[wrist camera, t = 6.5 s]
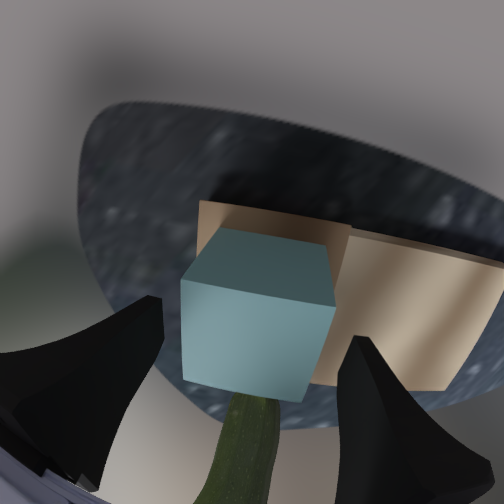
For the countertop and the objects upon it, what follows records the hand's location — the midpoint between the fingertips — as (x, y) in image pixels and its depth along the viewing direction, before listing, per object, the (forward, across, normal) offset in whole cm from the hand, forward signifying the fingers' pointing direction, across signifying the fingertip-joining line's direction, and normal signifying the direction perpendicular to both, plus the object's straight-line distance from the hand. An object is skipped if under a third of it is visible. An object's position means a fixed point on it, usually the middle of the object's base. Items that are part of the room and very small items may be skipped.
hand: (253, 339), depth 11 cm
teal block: (+4, 0, 0) cm, 5 cm away
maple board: (+6, -5, +2) cm, 8 cm away
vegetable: (+6, 0, +10) cm, 11 cm away
